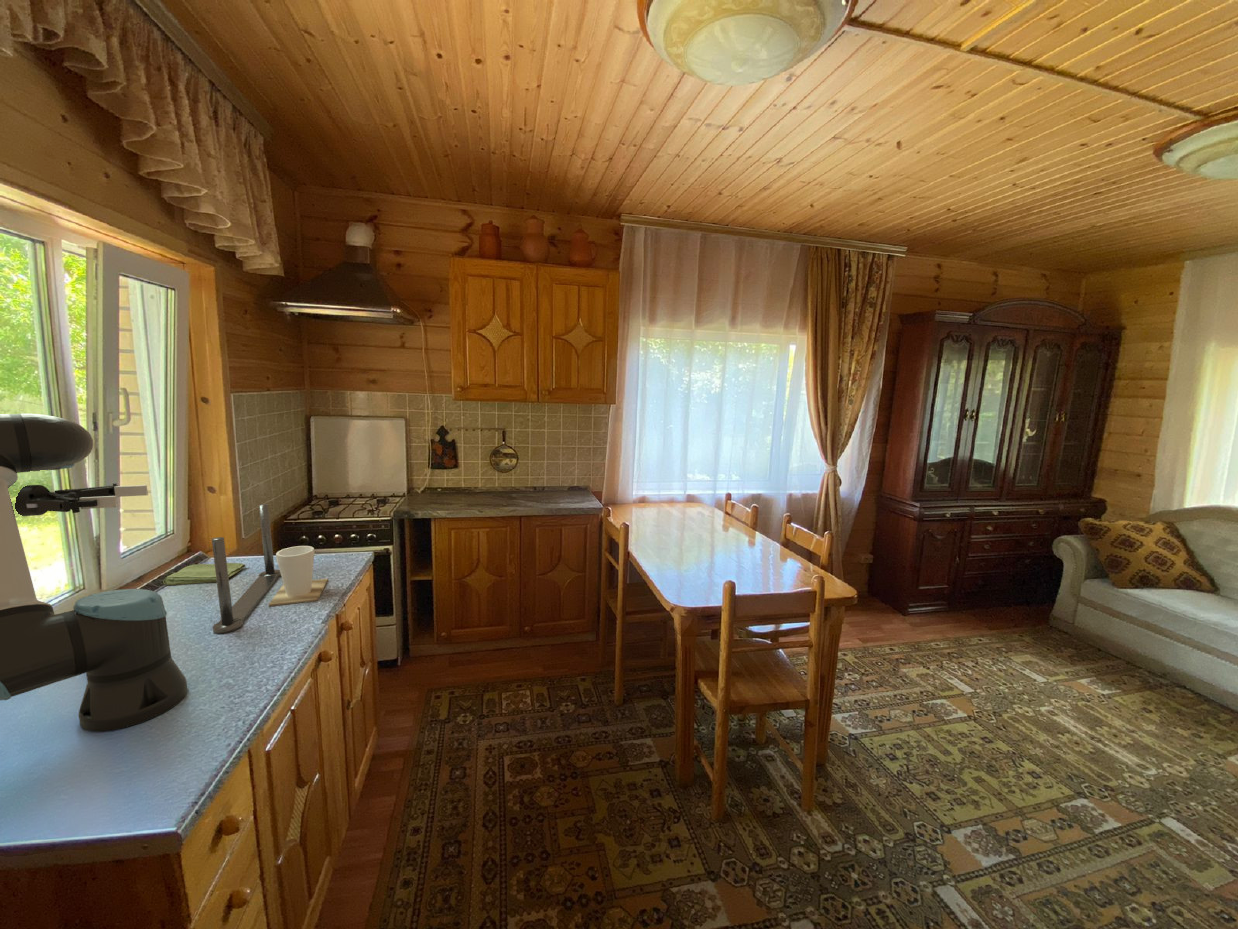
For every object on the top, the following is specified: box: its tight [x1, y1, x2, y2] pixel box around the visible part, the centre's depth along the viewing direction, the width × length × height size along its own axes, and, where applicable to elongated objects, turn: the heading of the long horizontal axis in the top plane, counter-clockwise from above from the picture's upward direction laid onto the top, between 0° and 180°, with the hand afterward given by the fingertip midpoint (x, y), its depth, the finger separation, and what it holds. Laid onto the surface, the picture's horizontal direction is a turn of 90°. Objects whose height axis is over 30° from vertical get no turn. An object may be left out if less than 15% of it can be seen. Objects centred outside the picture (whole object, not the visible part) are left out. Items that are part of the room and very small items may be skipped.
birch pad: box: [268, 578, 329, 607], centre depth 148 cm, size 16×12×1 cm
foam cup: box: [275, 545, 315, 597], centre depth 146 cm, size 10×9×13 cm
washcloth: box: [162, 562, 246, 586], centre depth 158 cm, size 13×18×3 cm
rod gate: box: [211, 503, 282, 635], centre depth 141 cm, size 42×6×24 cm, turn 21°
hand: (132, 495), depth 126 cm, fingers open, 13 cm apart
